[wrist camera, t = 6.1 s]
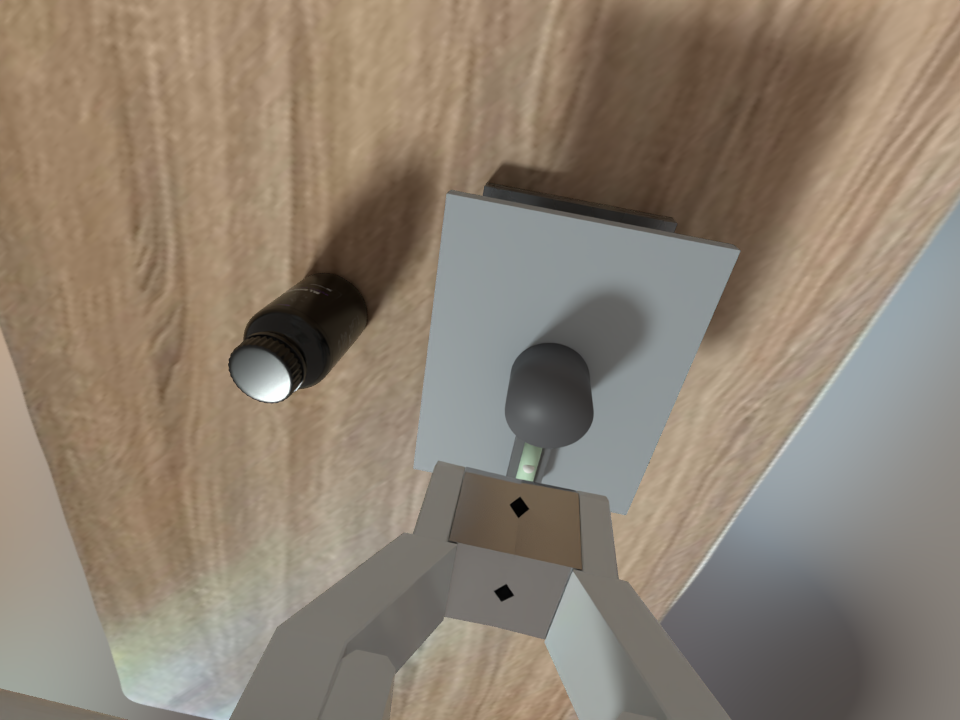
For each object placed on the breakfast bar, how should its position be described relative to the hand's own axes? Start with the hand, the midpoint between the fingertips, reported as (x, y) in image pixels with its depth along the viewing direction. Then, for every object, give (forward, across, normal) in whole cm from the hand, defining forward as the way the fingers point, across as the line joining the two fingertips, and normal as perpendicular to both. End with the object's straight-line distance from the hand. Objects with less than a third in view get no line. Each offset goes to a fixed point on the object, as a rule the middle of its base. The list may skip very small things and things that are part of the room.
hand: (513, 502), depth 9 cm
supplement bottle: (+32, +16, +14) cm, 38 cm away
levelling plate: (+22, -2, +10) cm, 24 cm away
